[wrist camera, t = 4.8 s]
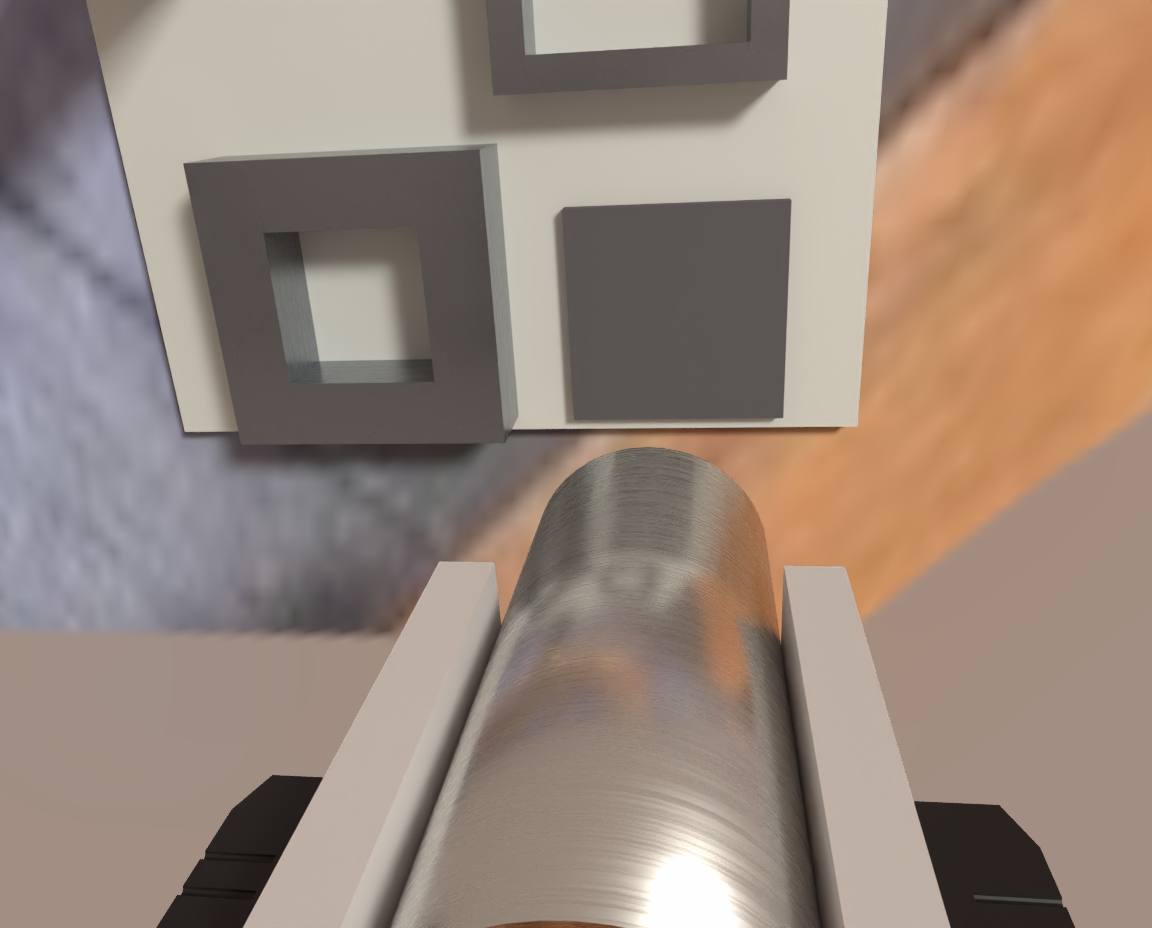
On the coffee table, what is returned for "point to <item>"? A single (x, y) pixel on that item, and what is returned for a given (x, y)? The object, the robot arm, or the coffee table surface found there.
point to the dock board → (526, 166)
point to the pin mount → (282, 306)
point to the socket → (633, 56)
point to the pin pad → (678, 309)
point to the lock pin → (628, 725)
